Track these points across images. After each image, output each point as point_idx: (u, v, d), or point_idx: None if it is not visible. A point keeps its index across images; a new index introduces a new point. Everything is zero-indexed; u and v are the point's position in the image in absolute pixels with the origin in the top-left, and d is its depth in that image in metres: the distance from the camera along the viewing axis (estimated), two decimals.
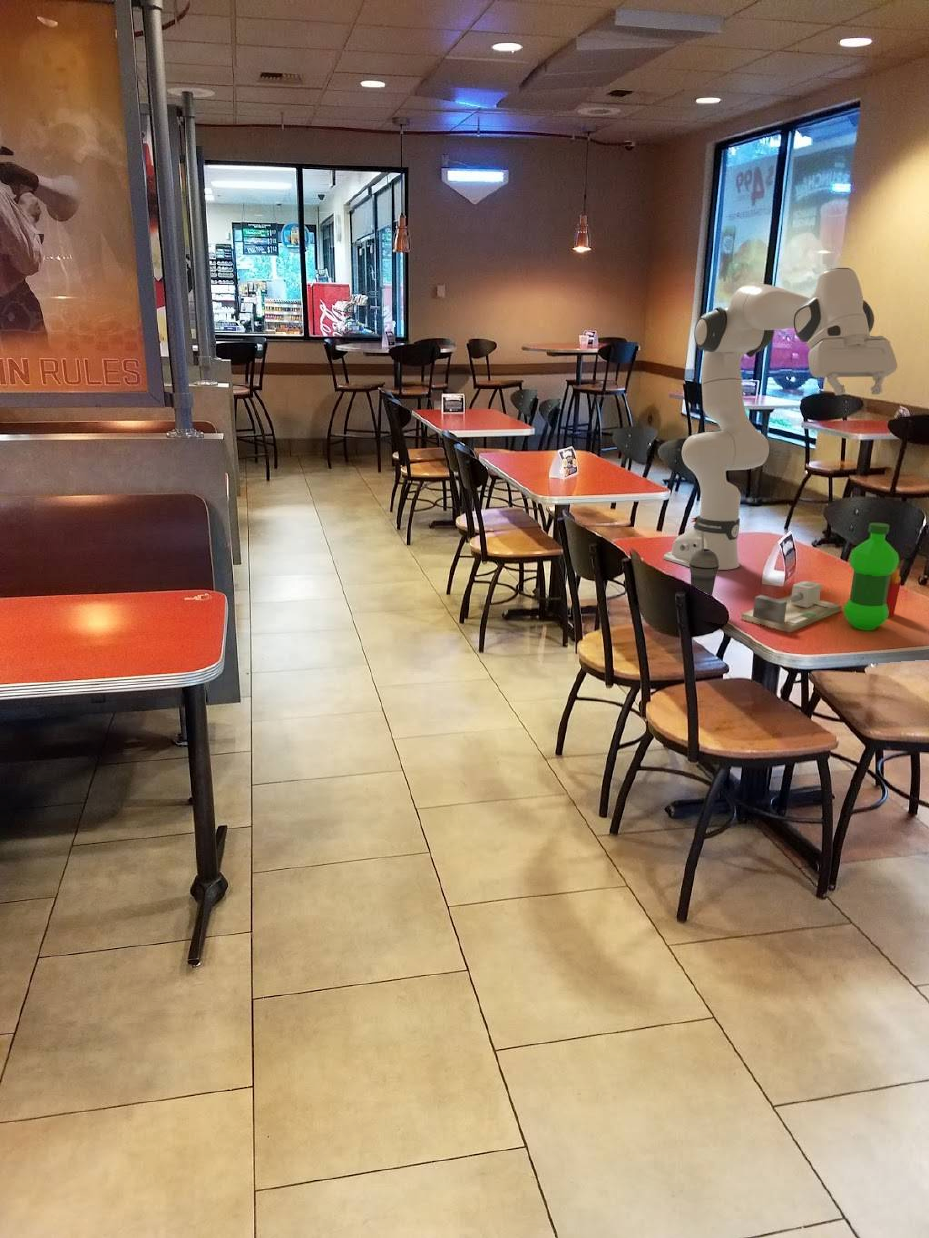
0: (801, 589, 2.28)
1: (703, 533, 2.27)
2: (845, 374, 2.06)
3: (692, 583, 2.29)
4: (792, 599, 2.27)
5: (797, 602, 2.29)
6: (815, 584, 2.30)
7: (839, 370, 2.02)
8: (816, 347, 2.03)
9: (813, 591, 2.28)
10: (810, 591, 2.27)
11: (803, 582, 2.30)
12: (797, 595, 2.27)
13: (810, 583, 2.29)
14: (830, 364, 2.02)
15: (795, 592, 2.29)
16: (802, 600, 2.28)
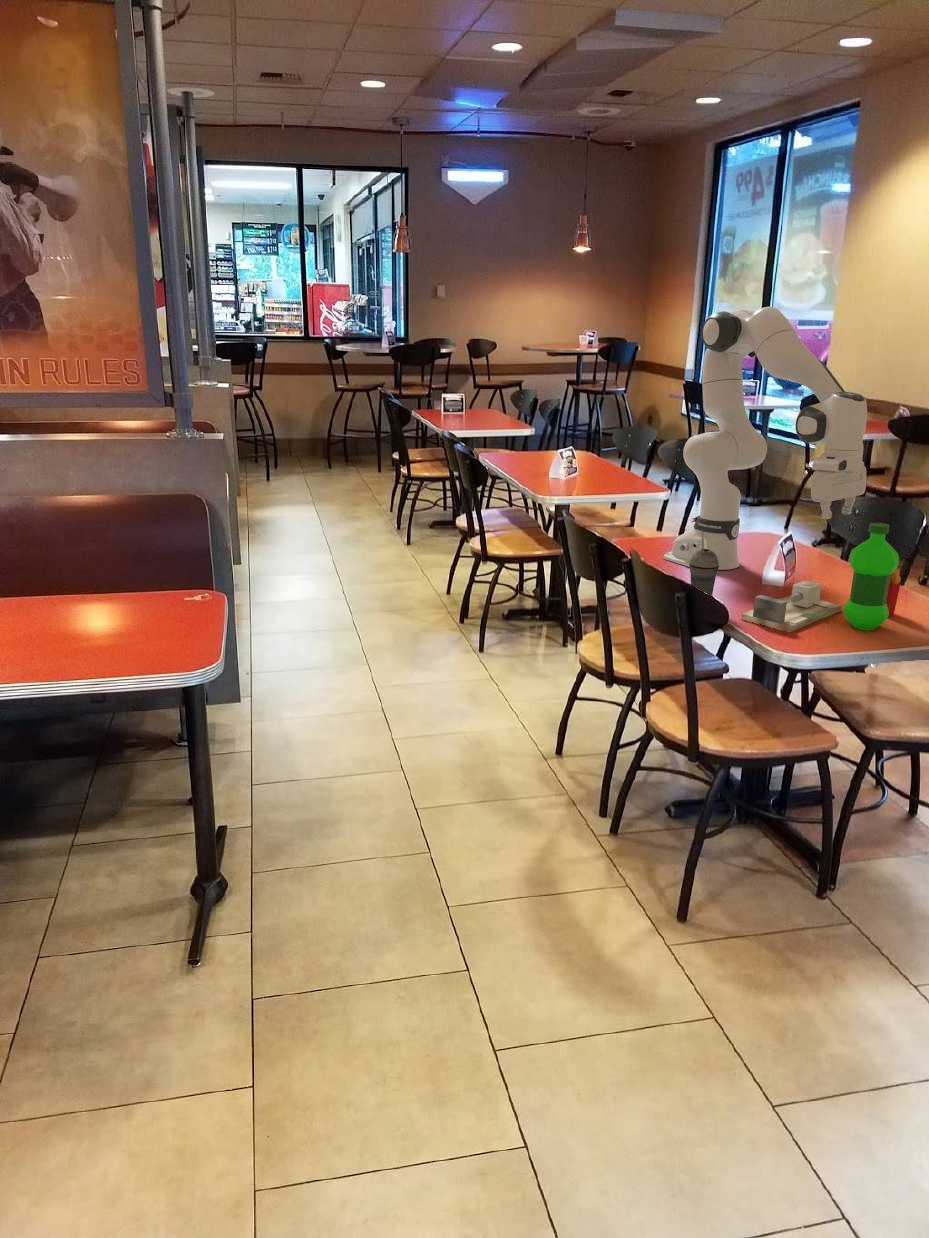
0: (801, 589, 2.28)
1: (703, 533, 2.26)
2: None
3: (692, 583, 2.29)
4: (792, 599, 2.27)
5: (797, 602, 2.29)
6: (815, 584, 2.30)
7: (834, 500, 2.22)
8: (825, 478, 2.18)
9: (813, 591, 2.28)
10: (810, 591, 2.27)
11: (803, 582, 2.30)
12: (797, 595, 2.27)
13: (810, 583, 2.29)
14: (830, 495, 2.21)
15: (795, 592, 2.29)
16: (802, 600, 2.28)
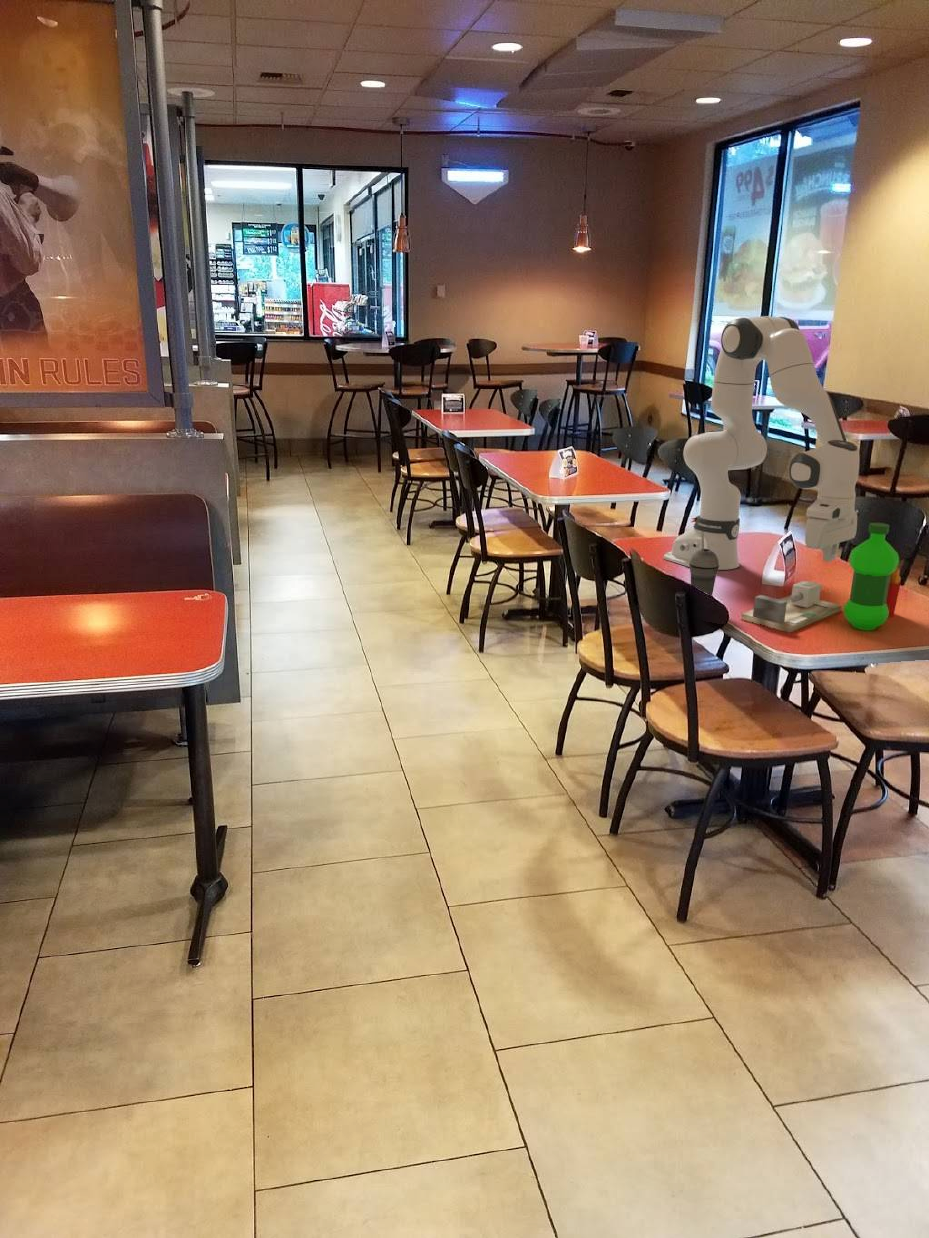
0: (801, 589, 2.28)
1: (703, 533, 2.27)
2: None
3: (692, 583, 2.29)
4: (792, 599, 2.27)
5: (797, 602, 2.29)
6: (815, 584, 2.30)
7: (827, 546, 2.28)
8: (819, 526, 2.23)
9: (813, 591, 2.28)
10: (810, 591, 2.27)
11: (803, 582, 2.30)
12: (797, 595, 2.27)
13: (810, 583, 2.29)
14: (824, 542, 2.26)
15: (795, 592, 2.29)
16: (802, 600, 2.28)
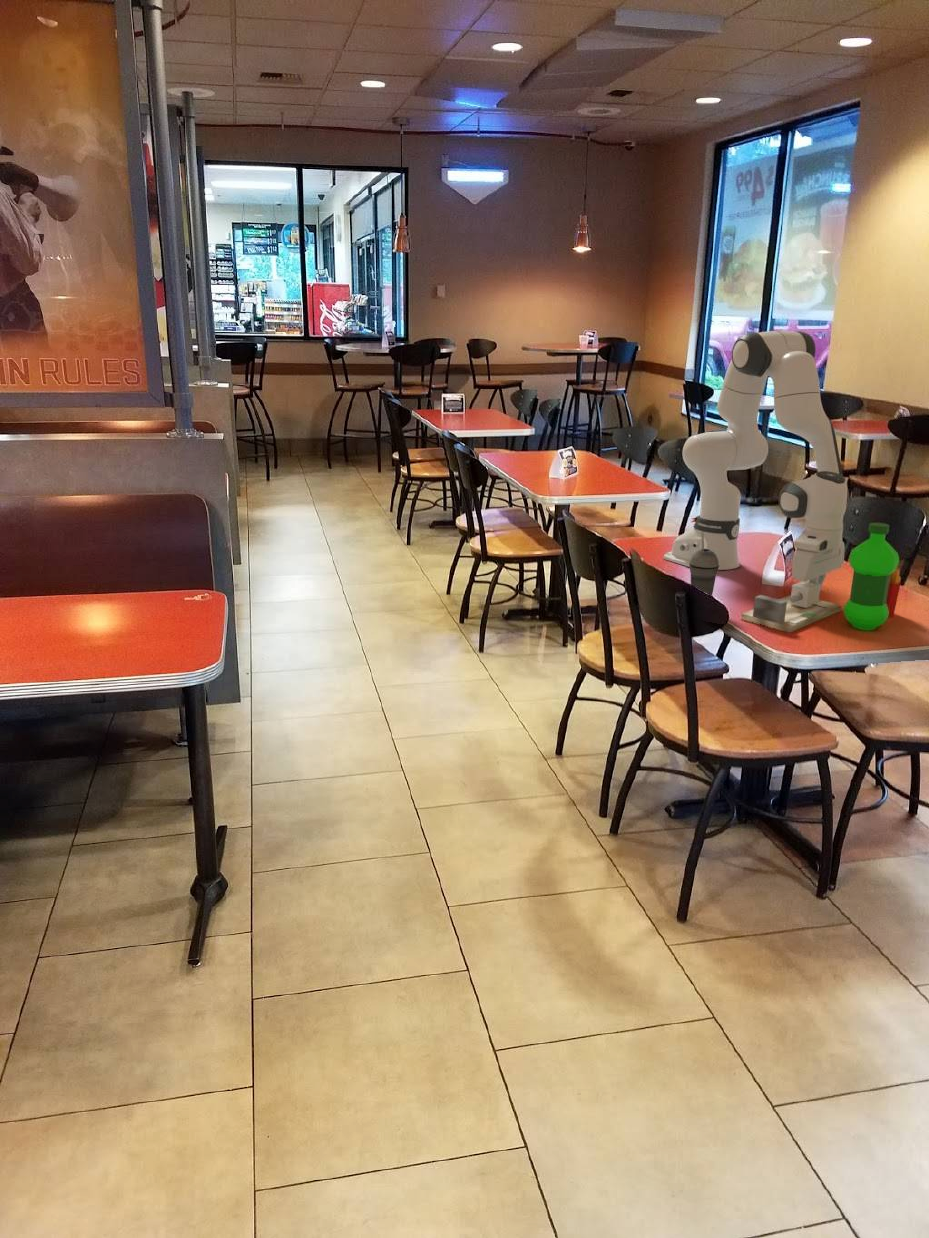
0: (801, 589, 2.27)
1: (703, 533, 2.26)
2: None
3: (692, 583, 2.29)
4: (791, 599, 2.27)
5: (796, 602, 2.29)
6: (814, 584, 2.29)
7: (814, 577, 2.27)
8: (806, 558, 2.23)
9: (812, 591, 2.28)
10: (809, 592, 2.27)
11: (802, 582, 2.30)
12: (796, 595, 2.26)
13: (809, 583, 2.29)
14: (811, 574, 2.25)
15: (794, 592, 2.29)
16: (801, 600, 2.28)
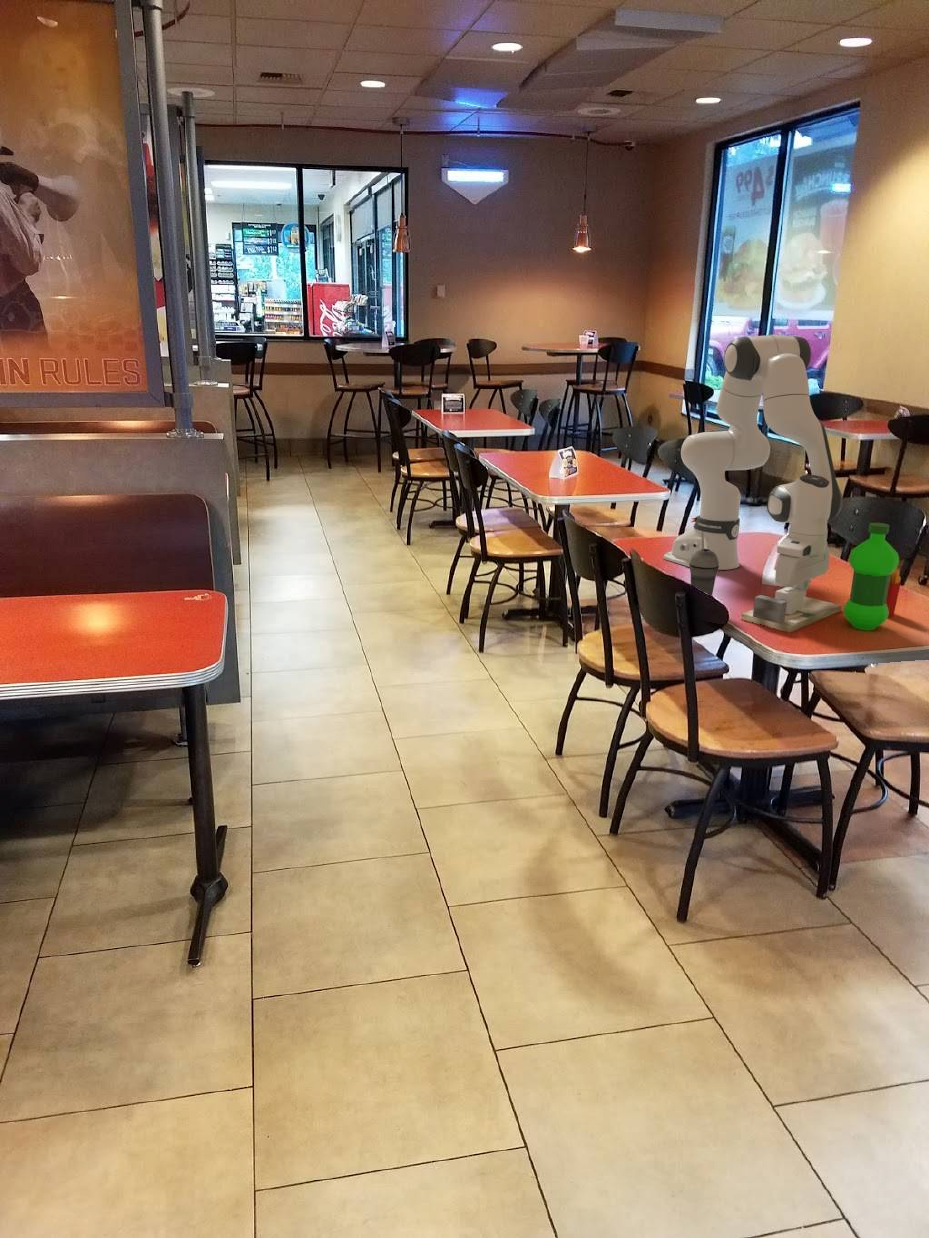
0: (784, 595, 2.22)
1: (703, 533, 2.26)
2: None
3: (692, 583, 2.29)
4: None
5: None
6: (798, 590, 2.24)
7: (798, 583, 2.22)
8: (790, 563, 2.18)
9: (796, 597, 2.23)
10: (793, 598, 2.22)
11: (786, 588, 2.25)
12: None
13: (793, 589, 2.24)
14: (794, 579, 2.20)
15: None
16: None
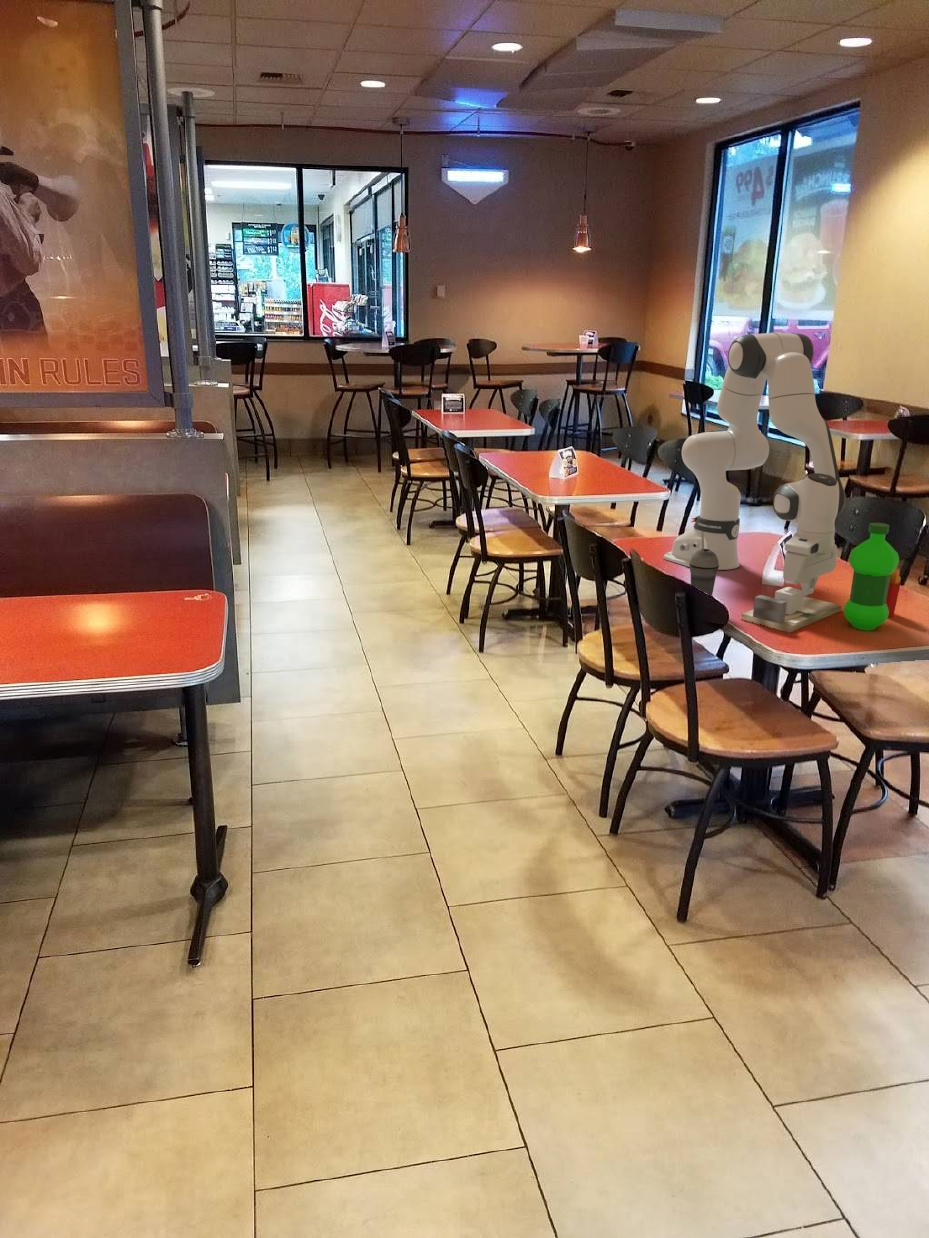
0: (784, 595, 2.22)
1: (703, 533, 2.26)
2: None
3: (692, 583, 2.29)
4: None
5: None
6: (798, 590, 2.24)
7: (805, 580, 2.25)
8: (797, 561, 2.21)
9: (796, 597, 2.23)
10: (793, 598, 2.22)
11: (786, 588, 2.24)
12: None
13: (793, 589, 2.24)
14: (802, 577, 2.23)
15: None
16: None
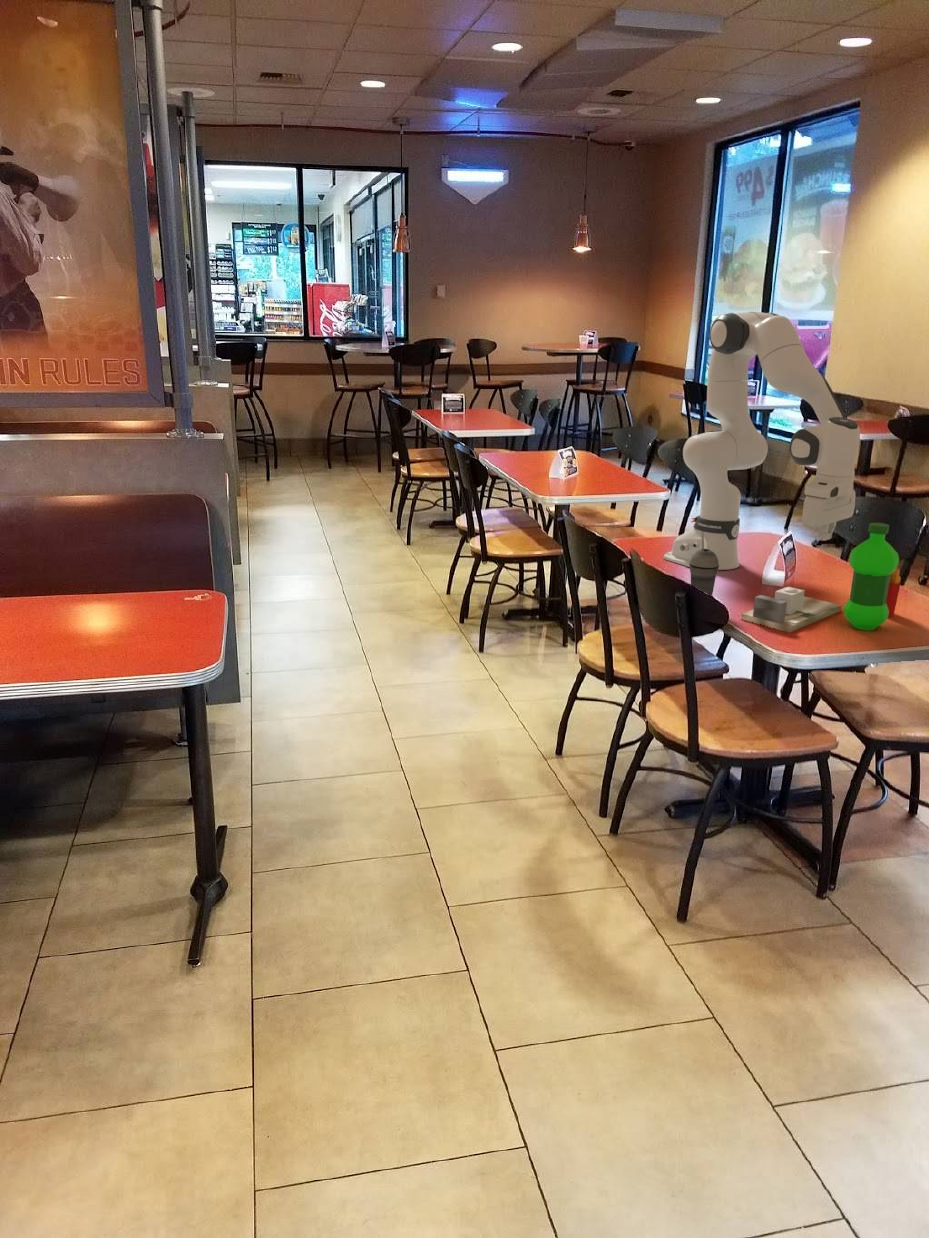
0: (784, 595, 2.22)
1: (703, 533, 2.26)
2: None
3: (692, 583, 2.29)
4: None
5: None
6: (798, 590, 2.24)
7: (824, 525, 2.25)
8: (817, 504, 2.21)
9: (796, 597, 2.23)
10: (793, 598, 2.22)
11: (786, 588, 2.24)
12: None
13: (793, 589, 2.24)
14: (821, 521, 2.23)
15: None
16: None
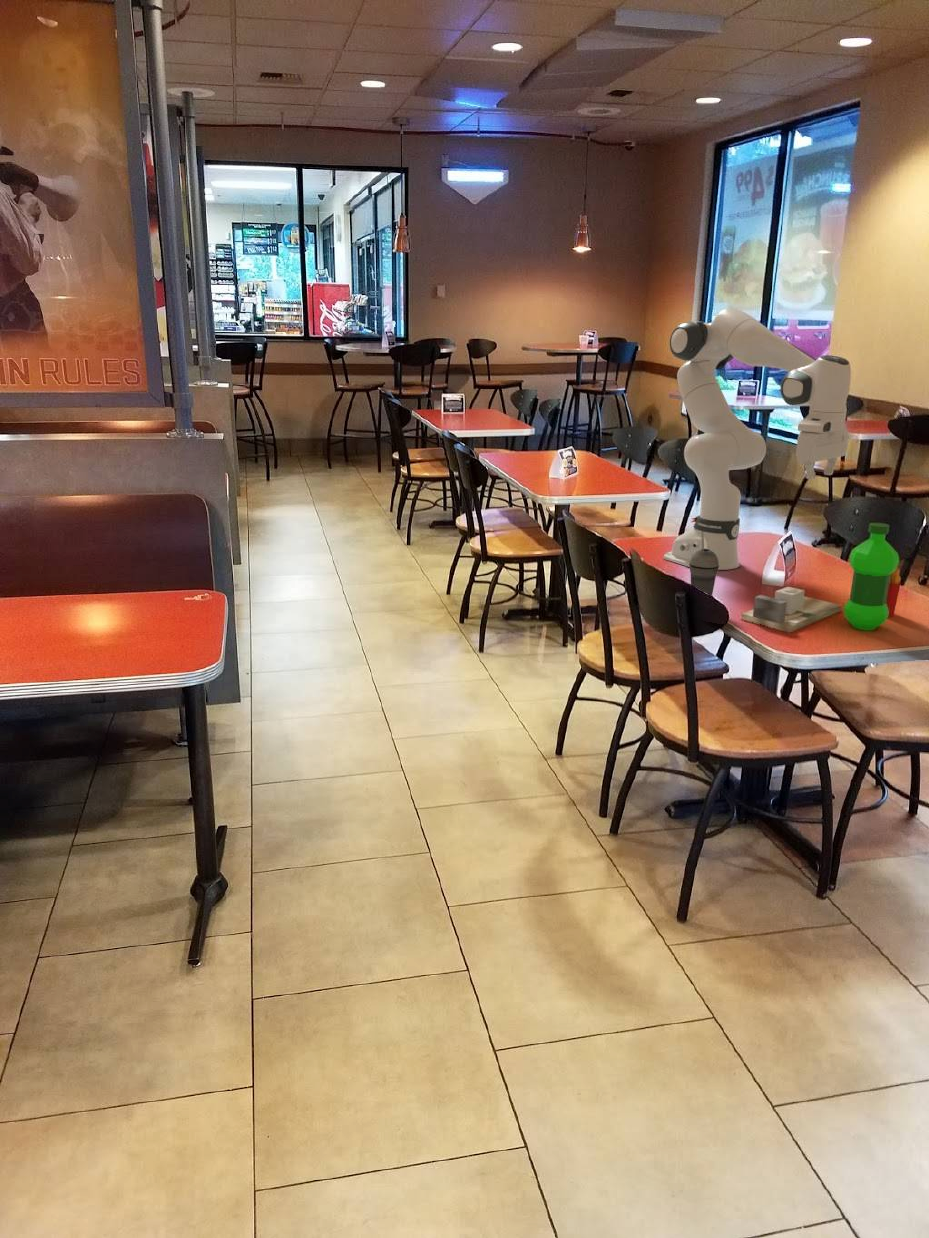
0: (784, 595, 2.22)
1: (703, 533, 2.27)
2: None
3: (692, 583, 2.29)
4: None
5: None
6: (798, 590, 2.24)
7: (818, 460, 2.31)
8: (810, 439, 2.27)
9: (796, 597, 2.23)
10: (793, 598, 2.22)
11: (786, 588, 2.24)
12: None
13: (793, 589, 2.24)
14: (815, 456, 2.29)
15: None
16: None
